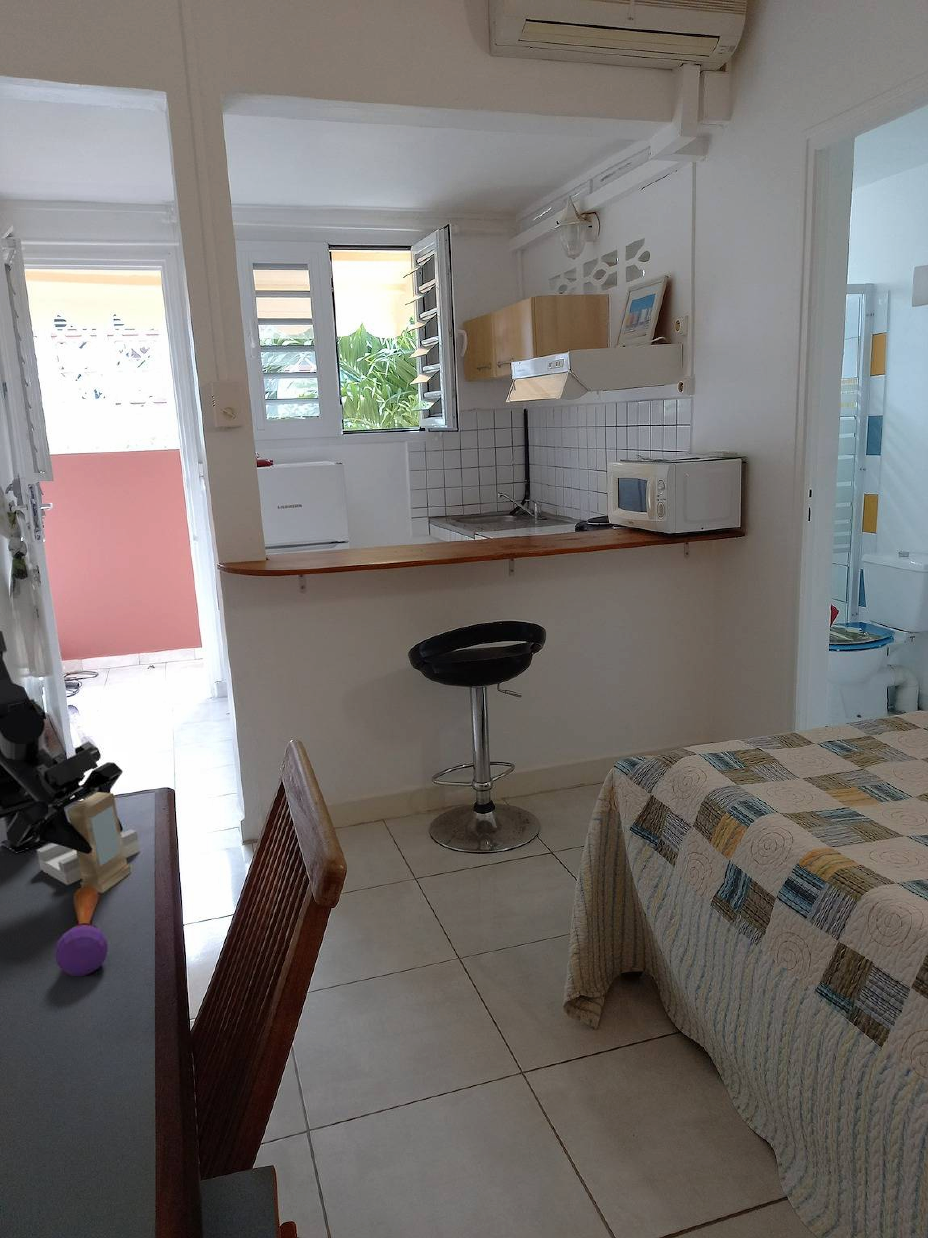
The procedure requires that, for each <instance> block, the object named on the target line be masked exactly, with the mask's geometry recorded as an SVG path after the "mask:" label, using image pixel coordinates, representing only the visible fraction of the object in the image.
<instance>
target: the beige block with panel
mask: <svg viewBox="0 0 928 1238" xmlns="http://www.w3.org/2000/svg"><path fill="white" fill-rule="evenodd" d="M117 810H118V809H117V806H116V800H115V795H114V793H113V792H112V793H111V792H110V793H101V792H97V793H95V794H94V795H92V796H90V797H88V798H87V799H85V800H83V799H82V801H80V802H77V803H75V805H73V806H70V808H68V809H67V813H68V818H69V819H68V820H69V823H70V824H71V825H72V826H73V827H74V828H75V829H76V830H77V831H78V832H79V833H80V834H81V835H82V836H83V838H84V839H85V840H86V841H87V842H88V843H89V845H90V846H91V847H92V851H91V853H89V854H85V853H82V852H79V851H76V852H77V857H78V862H79V867H80V871H81V876H82V879H81V880H82V881H80V883H79V884H80V888H81V887H83V886H92V887H94V888H96V890H97V891H98V893H102V894H103V893H105V892H106V891H108V890H109V889H111V888H112V887H114V886H115V885H116V884H117V883H119V882H121V880H123V879H124V878H126V877H127V876H128V875H129V874H131V873H132V870H131V865H130V864H128V863H127V861H128V860H127V858H126V856H125V851H124V846H123V841H122V836H121V833H122V832H121V831H120V825H119V820H120V819H119V820H118V818H119V815H118V811H117Z"/></svg>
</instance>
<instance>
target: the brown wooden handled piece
mask: <svg viewBox="0 0 928 1238" xmlns="http://www.w3.org/2000/svg"><path fill="white" fill-rule="evenodd" d="M73 894H74V895H73V904H74V908H75V913H76V917H77V924H76V925H74V926H73V927H71V928H69V930H68V931H66V932H65V933H63V934H62V936H61V937H60V939H58V941H57V944H56V948H55V956H54V957H55V961H56V964H57V966H58V967H59V968H60V969H61V971H62V972H64V973H66V974H68V975H70V976H72V977H83V976H87V975H89V974H91V973H93V972H95V971H96V970H97V969H99V968H100V967H101V966H102V964H103V963H104V961H105V960H106V958H107V954H108V949H109V948H108V947H109V944H108V939H107V936H106V935H105V934H104V933H103V931H102V930H101V929H99V928H98V927H97V926H96V925H95V924H92V923H91V920H92V918H93V916H94V912H95V909H96V907H97V904H98V901H99V897H100V896H99V895H100V894H99V892H98V891H97V890H96V888H94V887H92V886H83V887H81V886H80V887H79V888H78V889H76V891H75V892H74V893H73Z"/></svg>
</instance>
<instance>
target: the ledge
mask: <svg viewBox="0 0 928 1238" xmlns="http://www.w3.org/2000/svg"><path fill="white" fill-rule="evenodd" d="M121 836H122V841H123V846H124V851H125V856H126V859H127V858H130V857H132V856H134V855H136V854H138V853H140V852H141V849H140V844H139V839H138V832H137V830H133V829H131V828H130V829H129V830H126V831H124V832H121ZM36 853H37V857H38V861H39V863H38V864H39V866H40V867H39V868H40V870H41V869H42V870H43V871H42V870H41V871H42V872H44V873H46V874H47V873H48V874H47V875H49V876H50V877H52V878H53V879H56V880H58V881H60V882H61V883H62V884H64V885H66V886H68V885H72V884H73V883H76V882H78V881H80V880H82V876H81V871H80V867H79V862H78V857H77V852H76V850H73V849H70V848H67V847H64V846H61V845H57V844H53V843H48V844H47V845H45V846H42V847H40V848H38V849H36Z"/></svg>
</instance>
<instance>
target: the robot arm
mask: <svg viewBox="0 0 928 1238" xmlns="http://www.w3.org/2000/svg"><path fill="white" fill-rule="evenodd" d="M6 645H7V644H6V641H5V638H4V633H3V631H2V630H0V819H3V823H4V827H5V833H6V838H7V839H5V840H3V841H1V842H0V844H4V845H5V846H7V847H8V848H11V849H12V850H14V851H15V852H20V851H22V850H25V849H26V848H30V847H32V848H34V847H33V846H35V845H37V846H39V845H38V844H40V845H42V844H44V843H48V844H52V843H53V844H57V845H61V846H64V847H67V848H70V849H73V850H76V851H79V852H82V853H85V854H89V853H91V851H92V847H91V846H90V845H89V843H88V842H87V841H86V840H85V839H84V838H83V836H82V835H81V834H80V833H79V832H78V831H77V830H76V829H75V828H74V827H73V826H72V825H71V823H70V821H69V819H68V817H67V814H66V811H65V809H67V808H68V809H69V807H72V805H73V806H74V804H77V803H79V801H80V802H81V800H82V801H83V800H85V799H87V798H88V797H90V796H92V795H94V794H95V793H97V792H101V793H111V791H112V790H111V789H112V788H113V787H114V785H115V784H116V782H117V780H119V778H120V776H121V775H122V774H123V773H124V771H123V769H121V768H120V767H119V766H118V765H117V764H116V763H115V762H111V761H108V762H106V763H104V764H102V765H100V766H99V765H98V763H97V761H98V760H100V759H101V757H102V756H101V753H100V751H99V749H98V748H97V747H96V746H95V745H94V744H93V743H92V742H91V741H86V742H85V743H83V744H80V745H79V746H78V747H75V748H74V753H75V755H72V756H70V757H68V758H67V759H65V757H63V756H62V755H56V756H55V757H53V756H52V755H51V754H50V753H49V752H48V751H47V750H46V749H45V748H44V747H43V746H44V740H45V730H46V729H45V726H46V724H45V720H46V719H47V716H46V715H47V714H46V712H45V710H44V709H43V708H42V706H41V705H39V704H38V703H36V700H35V699H34V698H30V697H29V696H30V695H29V694H28V693H27V690H26V688H25V687H24V686H21V685H19V684H17V683H14V681H13V680H12V677H11V675H10V673H9V671H8V668H7V665H6V662H5V661H4V654H5V653H7V652H8V649H7V646H6ZM90 770H92V771H91V772H90V773H89V775H88V776H87V778H86V775H85V773H86V772H88V771H90ZM85 778H86V780H85V781H84V782H83V780H84V779H85ZM81 782H83V784H80V783H81ZM118 820H119V825H120V831H121V833H123V831H124V828H123V826H122V823H121V821H120V818H119V817H118ZM35 847H36V846H35ZM8 848H7V849H8ZM30 849H31V848H30ZM25 851H26V850H25ZM15 852H14V853H15ZM20 853H21V852H20Z"/></svg>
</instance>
